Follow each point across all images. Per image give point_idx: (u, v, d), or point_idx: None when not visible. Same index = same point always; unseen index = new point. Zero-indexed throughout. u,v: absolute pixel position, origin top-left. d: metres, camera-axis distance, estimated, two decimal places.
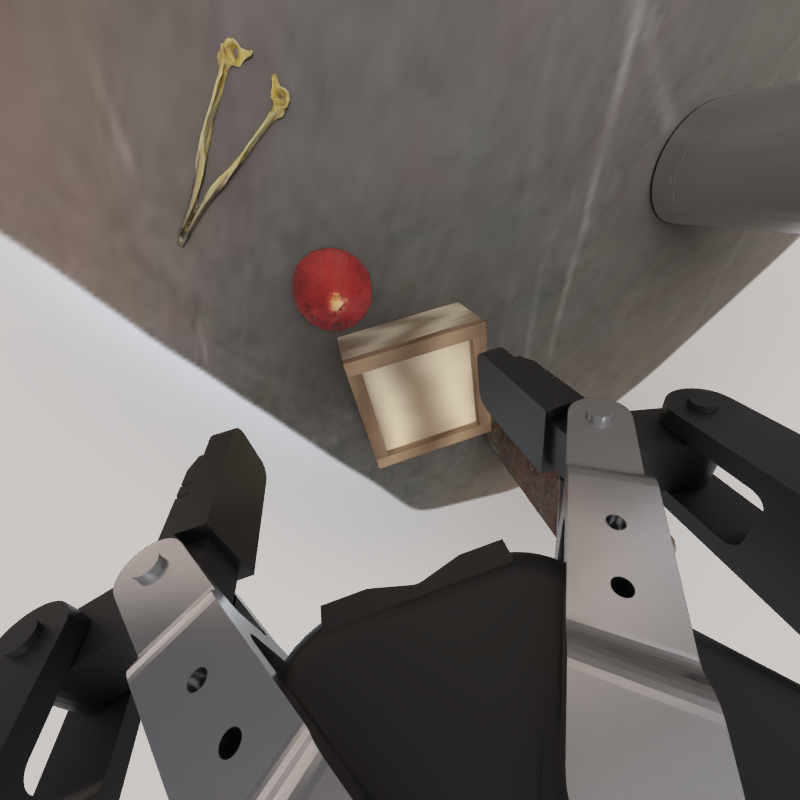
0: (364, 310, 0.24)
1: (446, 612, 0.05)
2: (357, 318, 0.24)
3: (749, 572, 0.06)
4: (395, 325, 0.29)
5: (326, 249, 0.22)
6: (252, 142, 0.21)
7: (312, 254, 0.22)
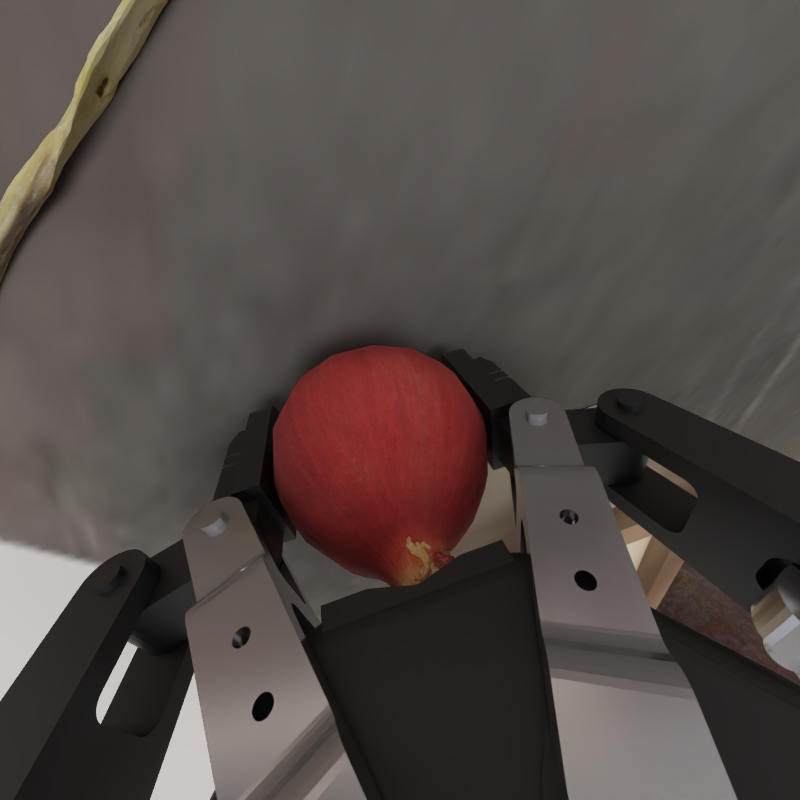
0: None
1: (446, 612, 0.05)
2: None
3: (693, 556, 0.06)
4: None
5: (372, 362, 0.07)
6: (117, 42, 0.06)
7: (331, 382, 0.07)
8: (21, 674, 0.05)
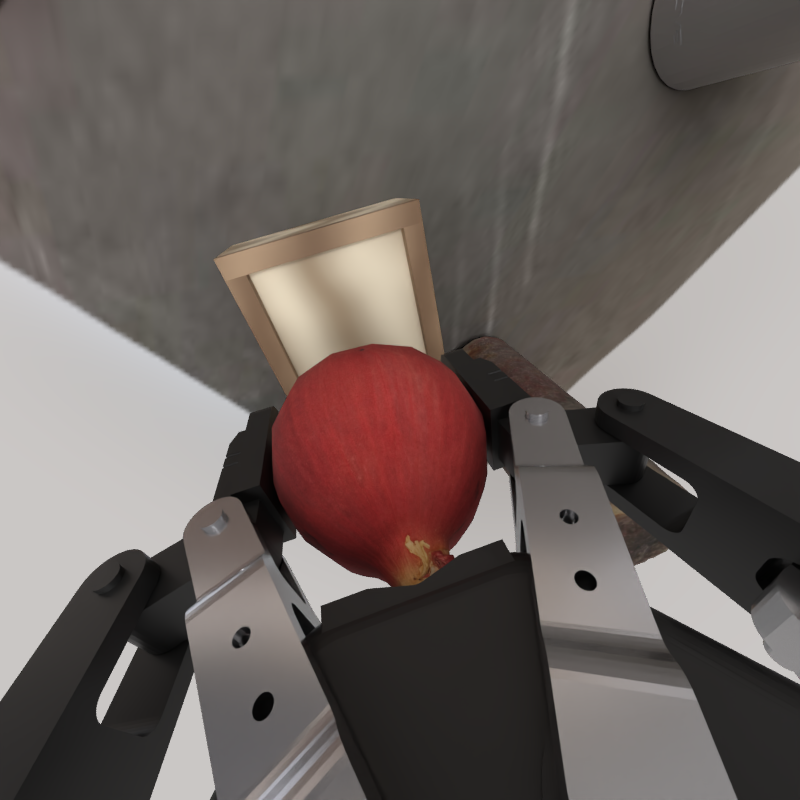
0: None
1: (446, 612, 0.05)
2: None
3: (693, 556, 0.06)
4: (307, 224, 0.22)
5: (372, 361, 0.07)
6: None
7: (330, 381, 0.07)
8: (21, 674, 0.05)
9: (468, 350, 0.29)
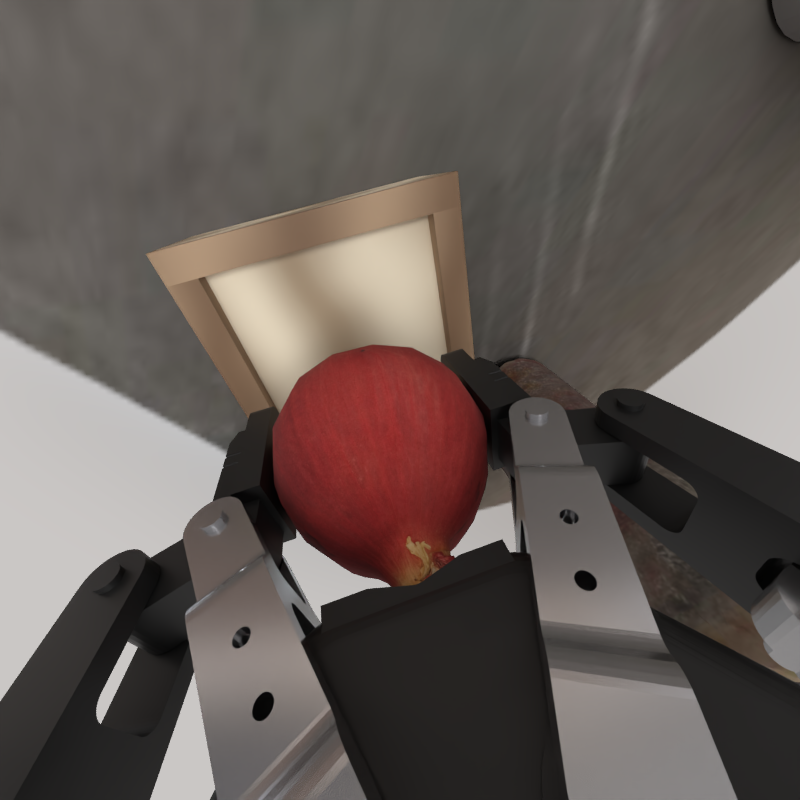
0: None
1: (446, 612, 0.05)
2: None
3: (693, 556, 0.06)
4: (295, 209, 0.16)
5: (372, 362, 0.07)
6: None
7: (331, 382, 0.07)
8: (21, 674, 0.05)
9: None
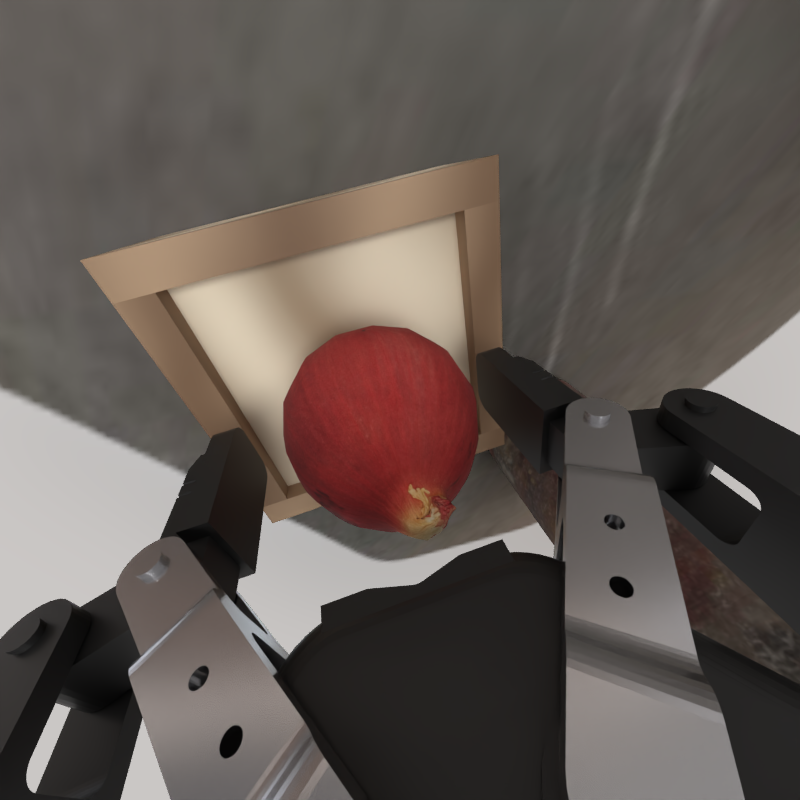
0: None
1: (446, 612, 0.05)
2: None
3: (747, 571, 0.06)
4: (287, 204, 0.13)
5: (373, 338, 0.08)
6: None
7: (337, 356, 0.08)
8: None
9: None
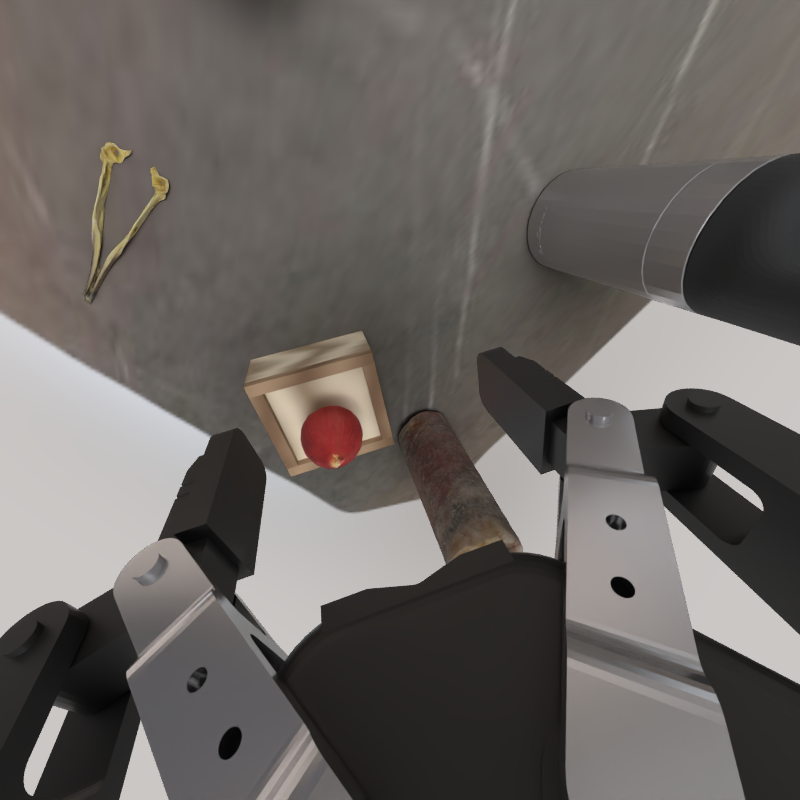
0: (356, 454, 0.30)
1: (446, 612, 0.05)
2: None
3: (749, 572, 0.06)
4: (302, 351, 0.33)
5: (328, 413, 0.29)
6: (140, 220, 0.25)
7: (317, 418, 0.29)
8: None
9: (413, 422, 0.41)
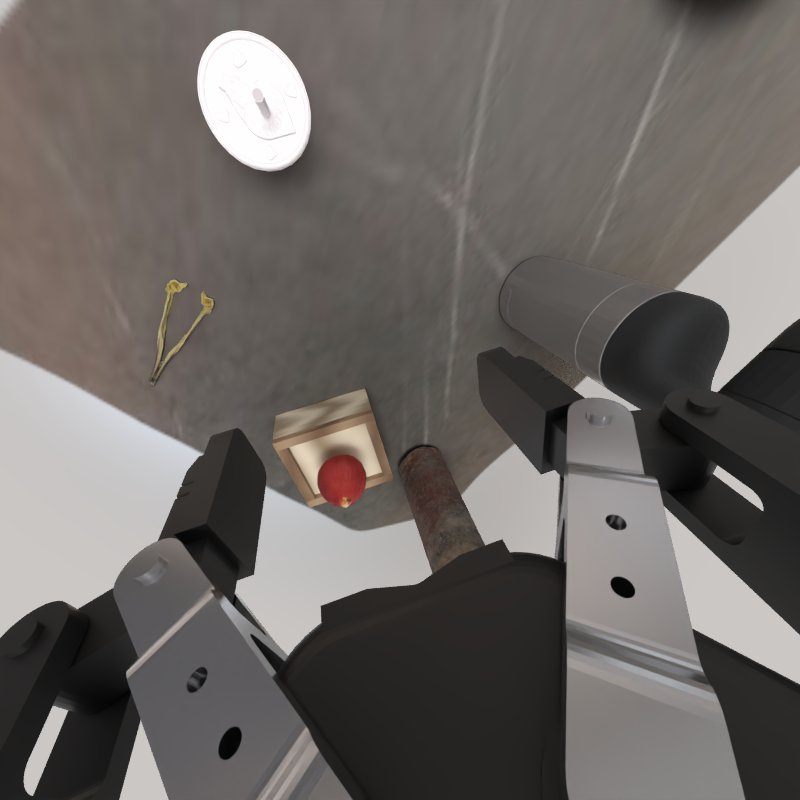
0: (361, 494, 0.38)
1: (446, 612, 0.05)
2: None
3: (749, 572, 0.06)
4: (316, 408, 0.41)
5: (338, 463, 0.37)
6: (192, 328, 0.33)
7: (330, 468, 0.37)
8: None
9: (410, 457, 0.49)
